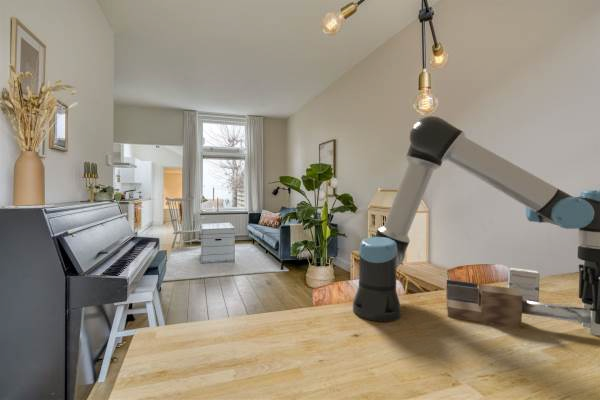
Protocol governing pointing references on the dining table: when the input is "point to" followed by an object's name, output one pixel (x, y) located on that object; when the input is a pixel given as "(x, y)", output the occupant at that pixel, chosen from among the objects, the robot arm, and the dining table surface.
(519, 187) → the robot arm
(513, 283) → the ink box
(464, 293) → the v block
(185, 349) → the dining table surface
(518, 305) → the wooden shaft support
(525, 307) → the axle
